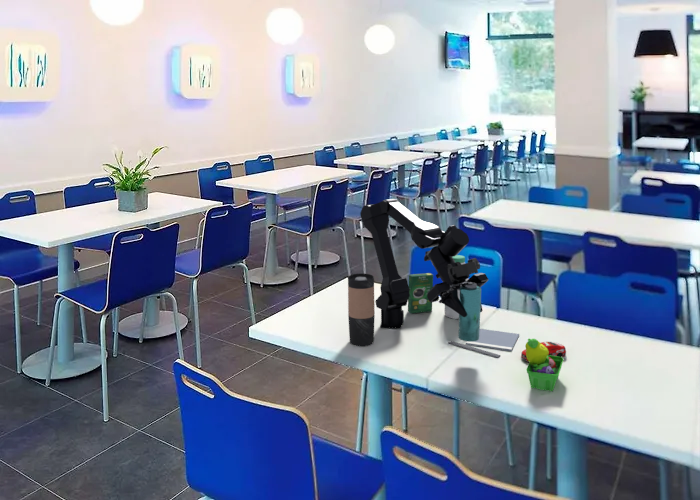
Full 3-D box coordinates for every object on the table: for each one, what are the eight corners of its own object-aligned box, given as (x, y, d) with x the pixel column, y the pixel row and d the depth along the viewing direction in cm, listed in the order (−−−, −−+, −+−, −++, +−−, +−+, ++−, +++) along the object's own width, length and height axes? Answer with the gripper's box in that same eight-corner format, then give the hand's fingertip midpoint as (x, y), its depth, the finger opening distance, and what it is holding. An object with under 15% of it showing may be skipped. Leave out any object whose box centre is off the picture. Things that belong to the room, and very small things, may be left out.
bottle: (459, 341, 164) (460, 287, 160) (457, 333, 170) (459, 280, 166) (480, 341, 164) (482, 287, 160) (478, 333, 169) (480, 281, 165)
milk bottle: (468, 320, 197) (470, 259, 193) (443, 318, 199) (445, 259, 194) (468, 312, 205) (470, 254, 200) (445, 310, 206) (446, 253, 202)
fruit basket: (557, 395, 147) (560, 351, 144) (519, 388, 151) (522, 345, 148) (562, 375, 157) (565, 334, 155) (527, 370, 161) (529, 329, 158)
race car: (528, 365, 164) (529, 352, 163) (516, 358, 169) (517, 344, 168) (569, 358, 168) (570, 344, 167) (556, 350, 173) (557, 337, 172)
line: (448, 343, 179) (448, 342, 179) (451, 341, 180) (451, 340, 180) (497, 357, 168) (497, 356, 168) (500, 356, 170) (500, 355, 169)
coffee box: (429, 308, 209) (429, 271, 205) (433, 311, 206) (433, 274, 203) (407, 311, 206) (407, 274, 203) (410, 314, 204) (411, 276, 200)
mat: (465, 344, 178) (465, 342, 178) (476, 329, 189) (476, 327, 189) (511, 351, 173) (511, 349, 173) (519, 335, 184) (519, 333, 184)
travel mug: (378, 339, 183) (378, 274, 178) (368, 348, 176) (367, 281, 171) (355, 335, 186) (354, 272, 181) (344, 344, 179) (343, 279, 174)
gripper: (435, 255, 159) (465, 306, 153) (485, 244, 169) (514, 292, 163) (414, 277, 167) (442, 327, 161) (463, 265, 177) (490, 312, 171)
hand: (473, 314), depth 164 cm, fingers closed on bottle, 6 cm apart
